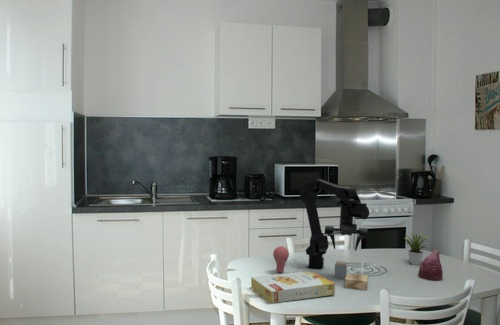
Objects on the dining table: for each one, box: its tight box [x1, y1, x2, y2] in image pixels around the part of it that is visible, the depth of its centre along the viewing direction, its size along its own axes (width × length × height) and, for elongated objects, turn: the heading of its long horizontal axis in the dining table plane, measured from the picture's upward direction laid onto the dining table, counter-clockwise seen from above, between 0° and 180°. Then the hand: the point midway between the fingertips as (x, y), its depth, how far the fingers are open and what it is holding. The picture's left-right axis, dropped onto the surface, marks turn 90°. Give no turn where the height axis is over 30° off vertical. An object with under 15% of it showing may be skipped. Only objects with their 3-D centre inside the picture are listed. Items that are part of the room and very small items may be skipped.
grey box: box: [334, 260, 348, 280], centre depth 217 cm, size 5×5×7 cm
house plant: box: [404, 232, 432, 266], centre depth 244 cm, size 14×14×16 cm
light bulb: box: [272, 245, 290, 273], centre depth 221 cm, size 7×7×12 cm
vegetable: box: [417, 248, 444, 282], centre depth 220 cm, size 10×10×15 cm
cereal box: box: [250, 270, 336, 304], centre depth 195 cm, size 20×6×28 cm
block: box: [344, 272, 369, 291], centre depth 205 cm, size 9×9×4 cm
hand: (344, 250), depth 217 cm, fingers open, 9 cm apart
